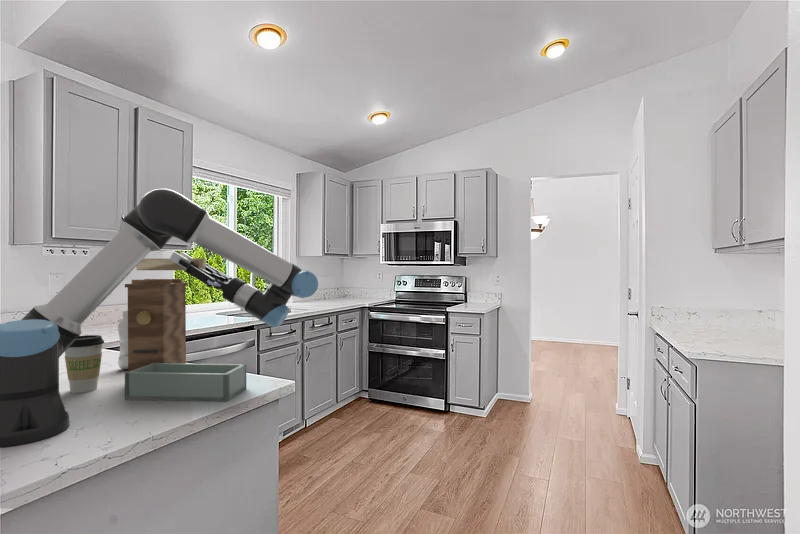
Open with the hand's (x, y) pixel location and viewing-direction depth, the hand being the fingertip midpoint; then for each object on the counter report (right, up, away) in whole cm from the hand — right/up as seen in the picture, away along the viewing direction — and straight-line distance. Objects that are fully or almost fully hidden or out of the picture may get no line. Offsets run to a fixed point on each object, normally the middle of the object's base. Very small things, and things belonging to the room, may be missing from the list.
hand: (176, 255), depth 137 cm
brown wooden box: (-6, -38, +1) cm, 39 cm away
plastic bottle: (-24, -39, +15) cm, 48 cm away
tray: (+11, -39, -14) cm, 43 cm away
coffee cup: (-21, -39, -10) cm, 45 cm away
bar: (-2, -4, 0) cm, 5 cm away
